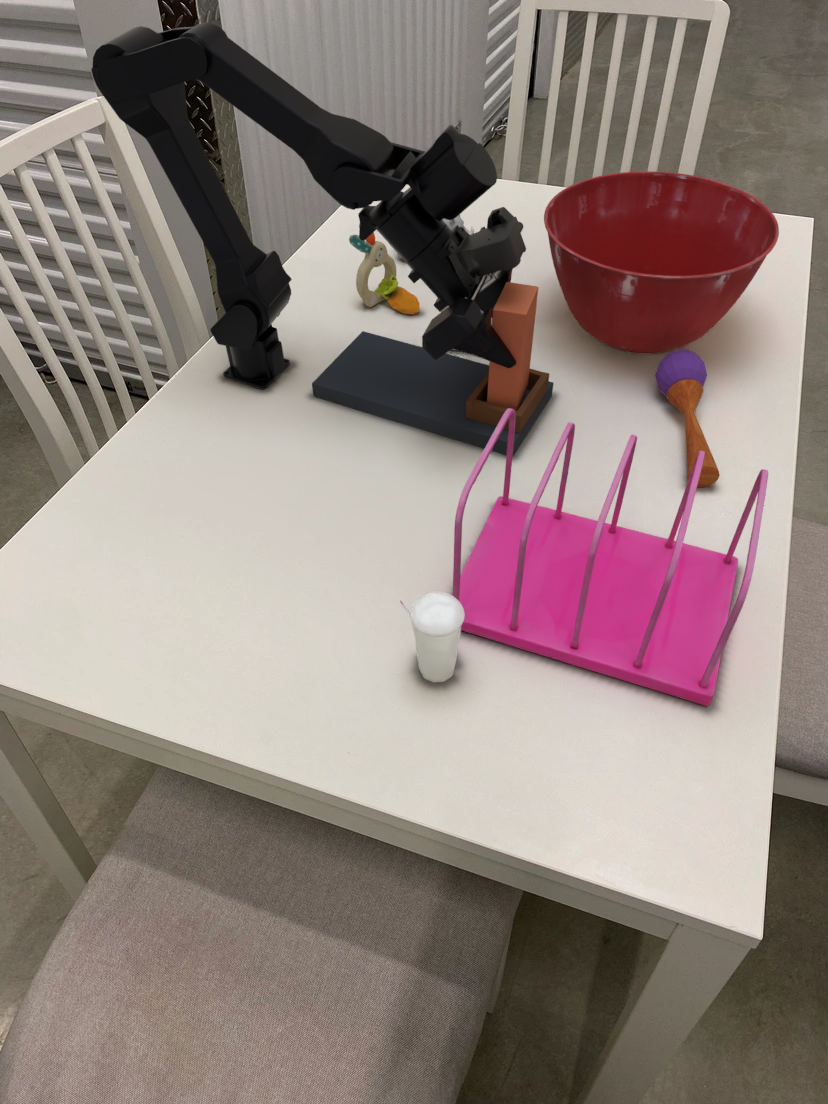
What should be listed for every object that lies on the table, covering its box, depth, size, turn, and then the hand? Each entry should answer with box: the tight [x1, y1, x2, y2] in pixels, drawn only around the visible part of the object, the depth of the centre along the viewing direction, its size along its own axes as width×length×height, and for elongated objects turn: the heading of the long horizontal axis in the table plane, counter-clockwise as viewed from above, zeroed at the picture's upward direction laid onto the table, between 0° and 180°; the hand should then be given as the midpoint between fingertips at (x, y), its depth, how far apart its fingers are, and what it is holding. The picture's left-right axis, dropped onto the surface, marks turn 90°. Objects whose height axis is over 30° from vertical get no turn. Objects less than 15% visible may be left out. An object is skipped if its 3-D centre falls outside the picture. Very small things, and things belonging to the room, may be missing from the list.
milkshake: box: [399, 590, 465, 684], centre depth 71 cm, size 4×5×10 cm
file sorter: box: [451, 408, 769, 707], centre depth 74 cm, size 17×25×16 cm
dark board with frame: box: [311, 330, 554, 458], centre depth 101 cm, size 27×13×4 cm, turn 63°
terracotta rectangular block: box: [487, 281, 539, 411], centre depth 92 cm, size 4×6×13 cm, turn 162°
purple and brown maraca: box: [654, 349, 720, 488], centre depth 95 cm, size 6×6×20 cm
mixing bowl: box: [543, 170, 780, 355], centre depth 107 cm, size 28×28×16 cm
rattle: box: [348, 222, 421, 316], centre depth 113 cm, size 8×8×12 cm
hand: (519, 350), depth 92 cm, fingers closed on terracotta rectangular block, 6 cm apart
